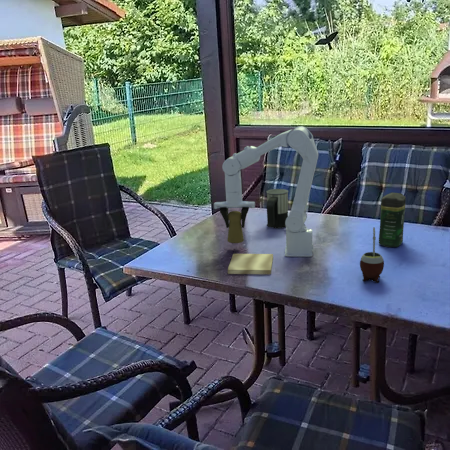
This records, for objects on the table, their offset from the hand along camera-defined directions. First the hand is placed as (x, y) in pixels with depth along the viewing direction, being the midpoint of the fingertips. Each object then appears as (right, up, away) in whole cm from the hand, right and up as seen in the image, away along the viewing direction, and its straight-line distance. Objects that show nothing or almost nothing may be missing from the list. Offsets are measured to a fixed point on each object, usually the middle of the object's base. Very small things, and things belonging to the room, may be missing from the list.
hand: (235, 227), depth 178 cm
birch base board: (+5, -13, -12) cm, 19 cm away
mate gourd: (+41, -16, -27) cm, 52 cm away
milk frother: (+21, 0, +25) cm, 32 cm away
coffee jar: (+57, -6, +1) cm, 57 cm away
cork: (0, -5, +2) cm, 5 cm away
